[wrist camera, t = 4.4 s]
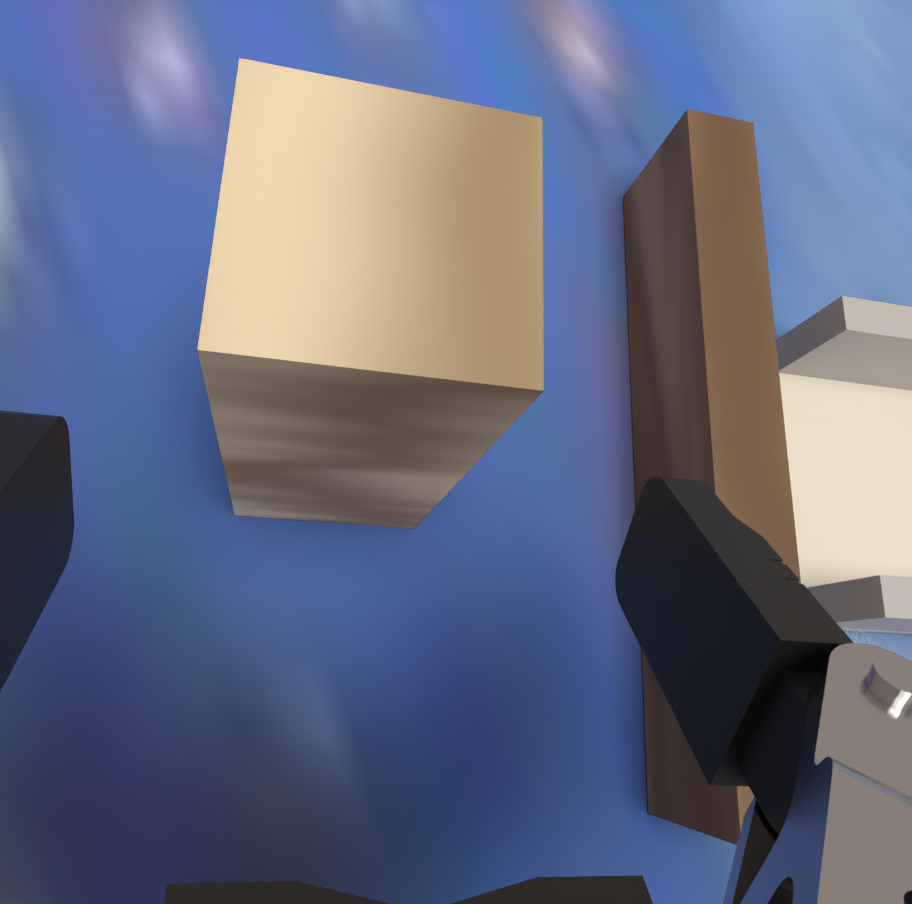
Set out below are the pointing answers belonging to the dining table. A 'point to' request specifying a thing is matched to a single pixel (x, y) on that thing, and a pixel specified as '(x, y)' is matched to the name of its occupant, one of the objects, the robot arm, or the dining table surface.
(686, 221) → the rail
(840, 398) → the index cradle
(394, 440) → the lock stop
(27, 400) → the dining table surface
